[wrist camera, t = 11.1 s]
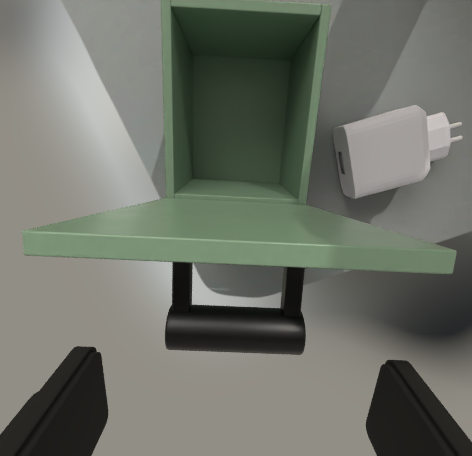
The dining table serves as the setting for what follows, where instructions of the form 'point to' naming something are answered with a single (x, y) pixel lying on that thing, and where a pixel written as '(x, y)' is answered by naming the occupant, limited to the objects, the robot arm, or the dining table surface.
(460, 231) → the dining table surface
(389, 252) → the bin lid
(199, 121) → the bin
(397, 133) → the charger
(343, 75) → the dining table surface
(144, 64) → the dining table surface
